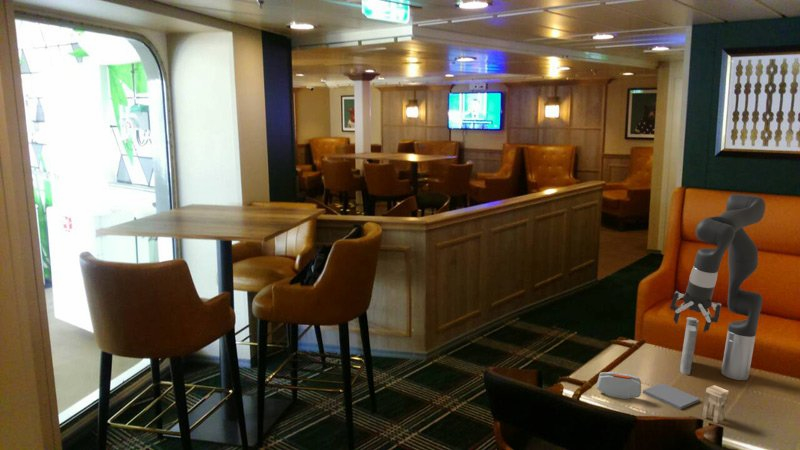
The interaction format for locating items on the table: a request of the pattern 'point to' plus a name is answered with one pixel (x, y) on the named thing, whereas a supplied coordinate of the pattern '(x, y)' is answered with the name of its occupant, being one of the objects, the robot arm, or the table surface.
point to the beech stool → (715, 403)
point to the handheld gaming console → (619, 385)
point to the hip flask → (689, 345)
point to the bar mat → (671, 396)
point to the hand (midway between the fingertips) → (690, 326)
